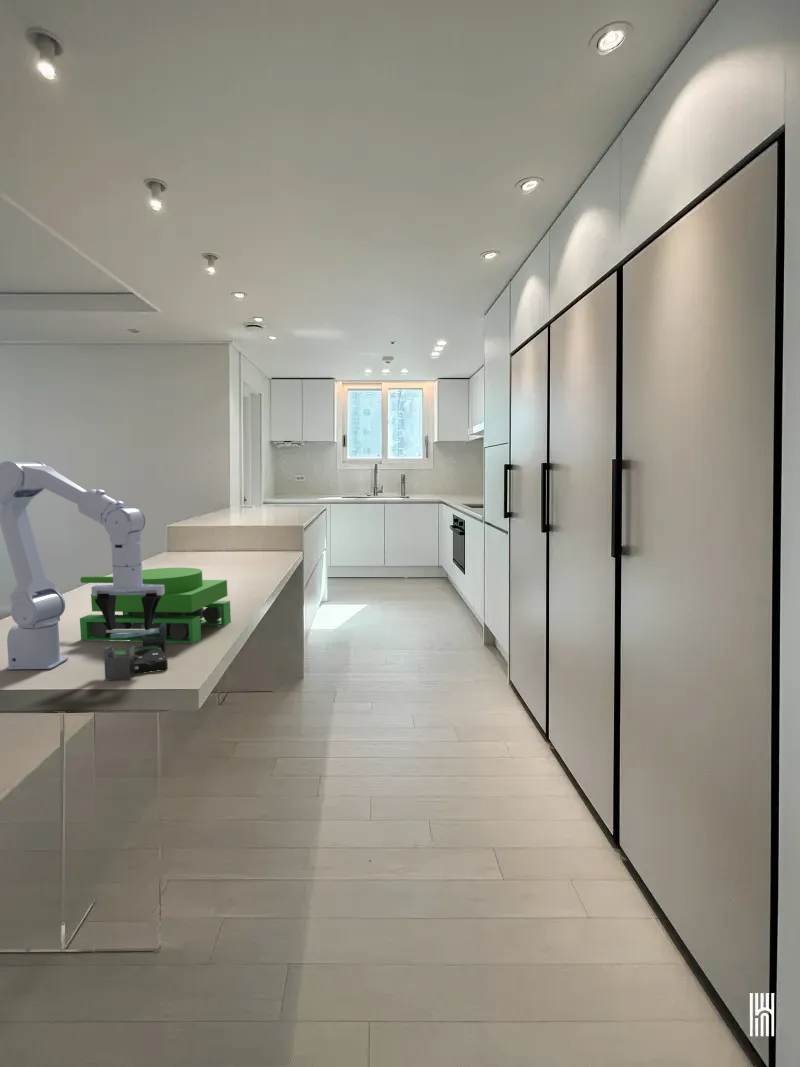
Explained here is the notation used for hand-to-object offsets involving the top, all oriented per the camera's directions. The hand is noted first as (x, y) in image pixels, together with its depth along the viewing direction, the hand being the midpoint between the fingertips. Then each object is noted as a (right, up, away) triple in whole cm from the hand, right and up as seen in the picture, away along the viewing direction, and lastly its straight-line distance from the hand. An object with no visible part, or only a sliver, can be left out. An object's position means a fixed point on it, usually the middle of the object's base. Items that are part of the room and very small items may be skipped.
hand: (130, 628), depth 140 cm
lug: (0, -9, -5) cm, 11 cm away
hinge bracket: (0, -7, +15) cm, 17 cm away
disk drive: (0, -9, +5) cm, 10 cm away
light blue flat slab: (0, -2, +4) cm, 5 cm away
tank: (-9, -6, +36) cm, 38 cm away
